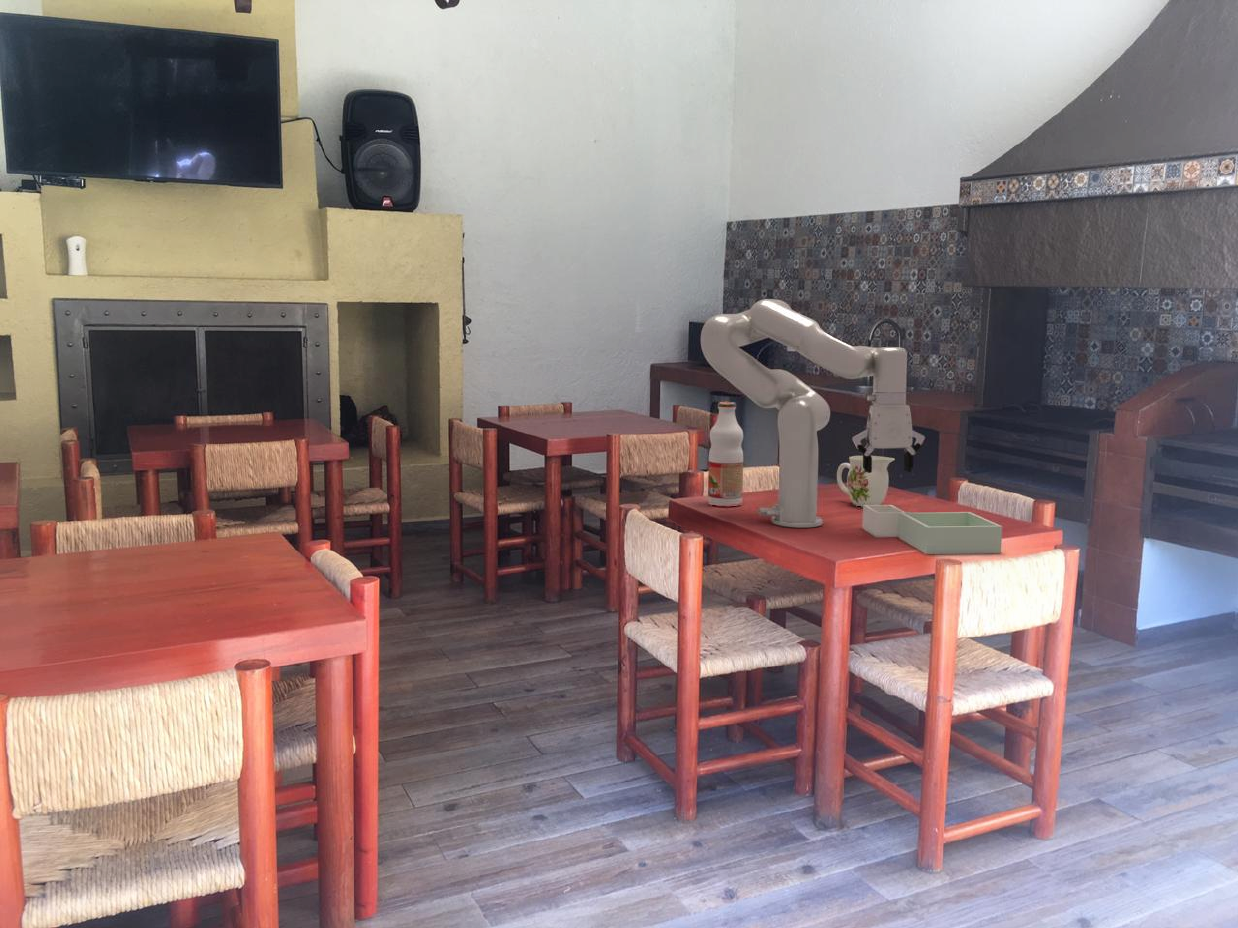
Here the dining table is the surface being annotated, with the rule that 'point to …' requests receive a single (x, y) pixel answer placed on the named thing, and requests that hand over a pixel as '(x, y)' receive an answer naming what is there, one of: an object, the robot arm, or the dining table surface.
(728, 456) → the fruit juice
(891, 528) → the small tote
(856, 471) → the pitcher
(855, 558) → the dining table surface
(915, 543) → the big crate
